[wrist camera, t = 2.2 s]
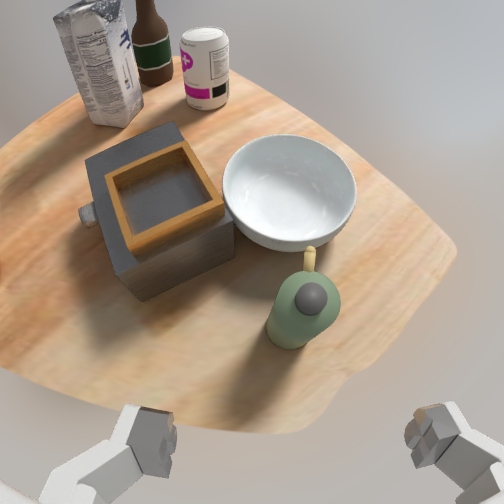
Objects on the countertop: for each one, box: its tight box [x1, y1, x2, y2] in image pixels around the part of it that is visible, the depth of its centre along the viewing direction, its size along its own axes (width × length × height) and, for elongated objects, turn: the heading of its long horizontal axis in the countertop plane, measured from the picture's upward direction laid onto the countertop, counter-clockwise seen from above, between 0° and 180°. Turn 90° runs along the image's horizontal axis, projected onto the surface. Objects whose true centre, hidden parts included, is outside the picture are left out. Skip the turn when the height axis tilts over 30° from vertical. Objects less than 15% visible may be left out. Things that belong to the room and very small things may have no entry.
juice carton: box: [53, 0, 144, 128], centre depth 39 cm, size 9×10×27 cm
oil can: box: [266, 246, 341, 350], centre depth 30 cm, size 8×6×12 cm
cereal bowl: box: [222, 134, 357, 252], centre depth 39 cm, size 17×17×7 cm
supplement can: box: [180, 26, 229, 110], centre depth 46 cm, size 8×8×15 cm
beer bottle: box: [131, 0, 173, 86], centre depth 46 cm, size 8×8×24 cm
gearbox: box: [78, 121, 235, 302], centre depth 35 cm, size 16×18×11 cm
